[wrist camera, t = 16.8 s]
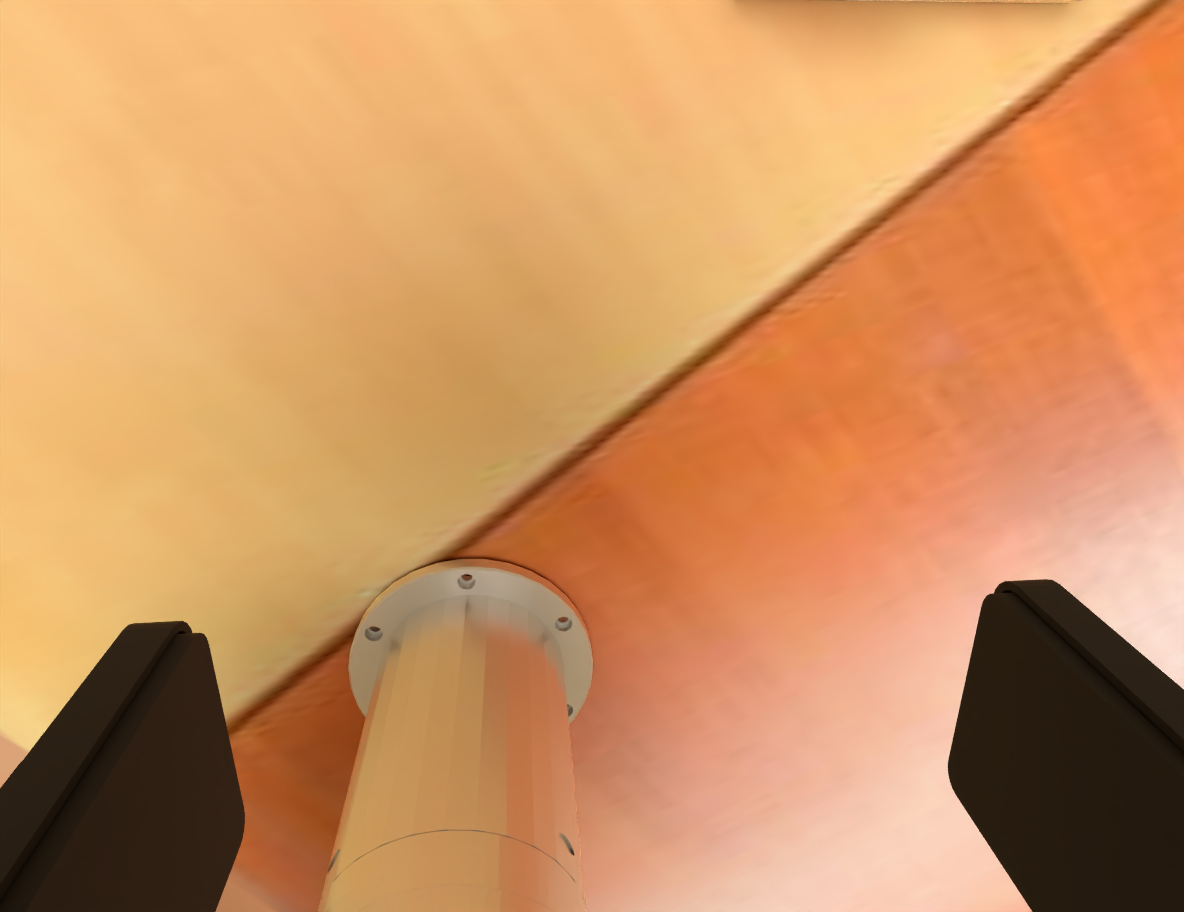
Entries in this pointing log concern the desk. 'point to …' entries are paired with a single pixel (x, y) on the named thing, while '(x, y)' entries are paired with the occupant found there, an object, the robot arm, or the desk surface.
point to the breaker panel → (1001, 0)
